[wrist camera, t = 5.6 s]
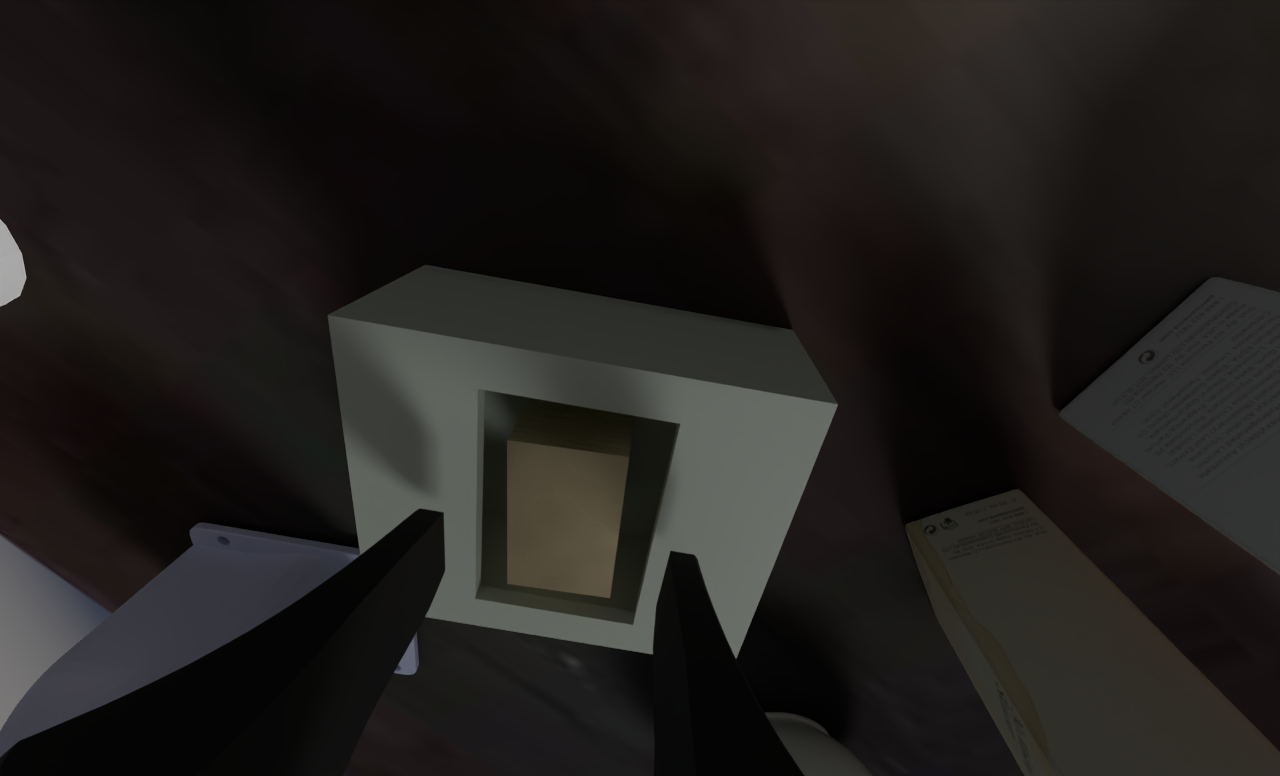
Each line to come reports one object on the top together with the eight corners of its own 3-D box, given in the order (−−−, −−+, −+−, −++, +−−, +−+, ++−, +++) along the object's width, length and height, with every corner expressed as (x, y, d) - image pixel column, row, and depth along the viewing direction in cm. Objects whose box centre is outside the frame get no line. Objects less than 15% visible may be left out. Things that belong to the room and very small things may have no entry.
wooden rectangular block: (547, 477, 19) (507, 583, 14) (552, 357, 16) (507, 439, 12) (625, 488, 19) (609, 598, 14) (641, 370, 16) (629, 457, 12)
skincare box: (899, 519, 19) (1185, 1010, 8) (1023, 481, 18) (1538, 992, 7) (936, 621, 22) (1198, 1105, 11) (1048, 593, 20) (1464, 1103, 10)
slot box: (434, 504, 20) (367, 607, 16) (425, 264, 16) (327, 314, 11) (720, 552, 21) (732, 667, 16) (792, 329, 16) (837, 404, 12)
